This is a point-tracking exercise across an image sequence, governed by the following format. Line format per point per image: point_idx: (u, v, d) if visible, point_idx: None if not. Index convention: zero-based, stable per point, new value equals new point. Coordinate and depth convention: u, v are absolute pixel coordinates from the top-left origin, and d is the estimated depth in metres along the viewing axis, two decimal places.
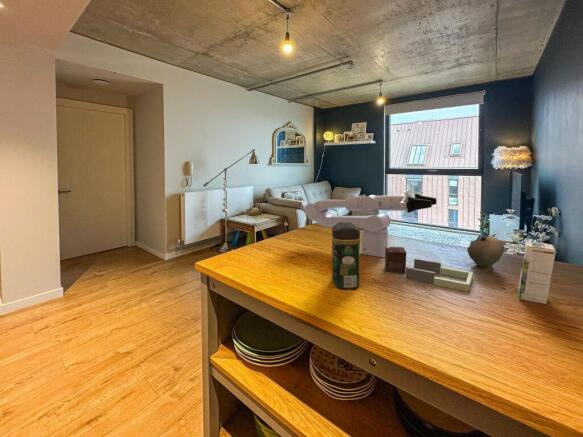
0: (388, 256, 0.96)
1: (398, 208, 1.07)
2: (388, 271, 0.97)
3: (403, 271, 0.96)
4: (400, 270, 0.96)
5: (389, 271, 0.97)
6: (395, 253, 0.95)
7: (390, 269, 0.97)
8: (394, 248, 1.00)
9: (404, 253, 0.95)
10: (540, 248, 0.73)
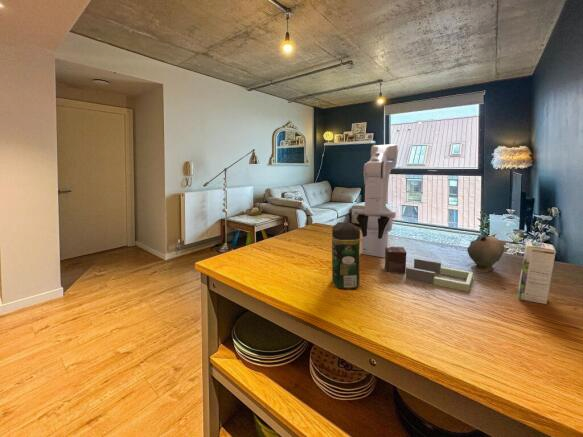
0: (388, 256, 0.96)
1: None
2: (388, 271, 0.97)
3: (403, 271, 0.96)
4: (400, 270, 0.96)
5: (389, 271, 0.97)
6: (395, 253, 0.95)
7: (390, 269, 0.97)
8: (394, 248, 1.00)
9: (404, 253, 0.95)
10: (540, 248, 0.73)
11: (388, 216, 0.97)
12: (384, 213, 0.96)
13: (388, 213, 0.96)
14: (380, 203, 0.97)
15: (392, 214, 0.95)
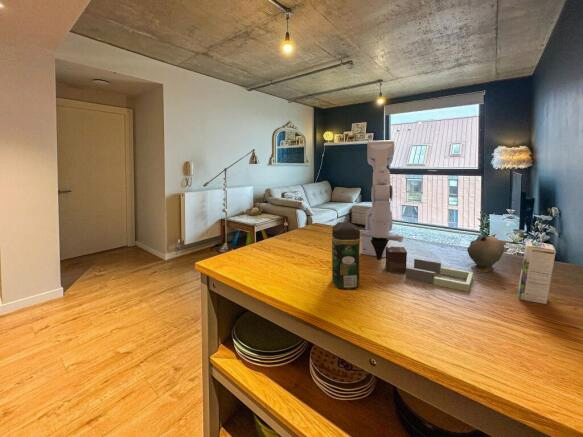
0: (388, 256, 0.96)
1: None
2: (388, 271, 0.97)
3: (404, 271, 0.96)
4: (400, 270, 0.96)
5: (389, 271, 0.97)
6: (395, 253, 0.95)
7: (391, 269, 0.97)
8: (395, 247, 1.00)
9: (404, 253, 0.95)
10: (540, 248, 0.73)
11: (395, 239, 0.97)
12: (391, 236, 0.96)
13: (395, 236, 0.96)
14: (387, 226, 0.98)
15: (399, 238, 0.96)
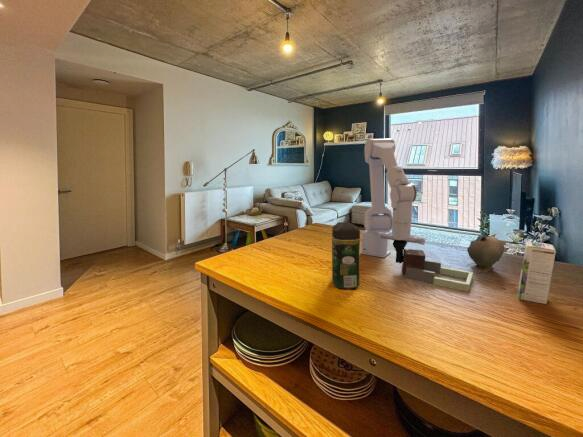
0: (405, 258, 0.93)
1: None
2: (405, 274, 0.94)
3: None
4: None
5: None
6: (413, 256, 0.92)
7: None
8: (413, 250, 0.96)
9: (423, 256, 0.91)
10: (540, 248, 0.73)
11: (417, 242, 0.93)
12: (413, 239, 0.93)
13: (417, 239, 0.92)
14: (409, 228, 0.94)
15: (422, 240, 0.92)
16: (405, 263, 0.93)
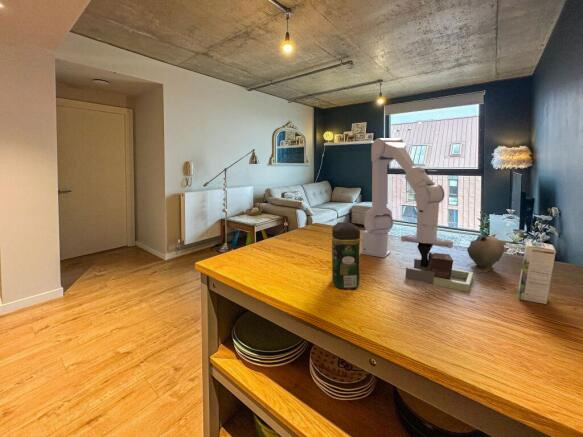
0: (431, 262, 0.88)
1: None
2: None
3: None
4: None
5: None
6: (440, 260, 0.87)
7: None
8: (439, 254, 0.91)
9: (450, 261, 0.87)
10: (540, 248, 0.73)
11: (444, 245, 0.89)
12: (440, 242, 0.88)
13: (445, 242, 0.88)
14: (435, 231, 0.89)
15: (450, 243, 0.87)
16: (431, 267, 0.89)
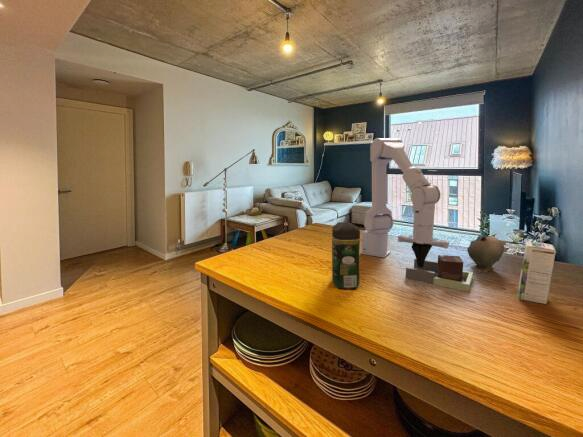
0: (441, 265, 0.87)
1: None
2: None
3: None
4: None
5: None
6: (450, 263, 0.86)
7: None
8: (449, 256, 0.90)
9: (461, 263, 0.85)
10: (540, 248, 0.73)
11: (440, 245, 0.90)
12: (436, 242, 0.89)
13: (441, 242, 0.88)
14: (431, 231, 0.90)
15: (445, 244, 0.88)
16: (441, 270, 0.87)
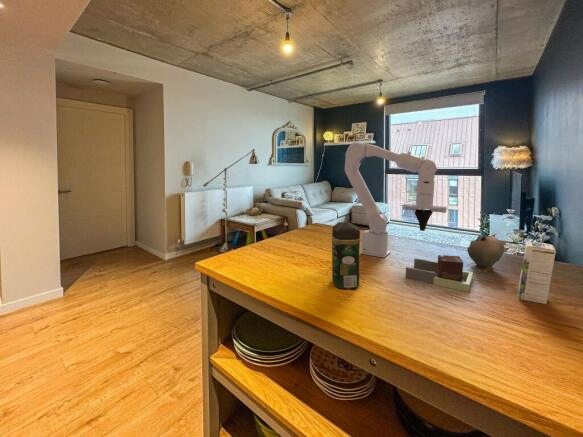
0: (441, 265, 0.87)
1: None
2: None
3: None
4: None
5: None
6: (450, 263, 0.86)
7: None
8: (448, 256, 0.90)
9: (461, 263, 0.85)
10: (540, 248, 0.73)
11: (439, 210, 1.05)
12: (436, 208, 1.04)
13: (440, 208, 1.04)
14: (432, 198, 1.05)
15: (444, 209, 1.03)
16: (441, 270, 0.87)
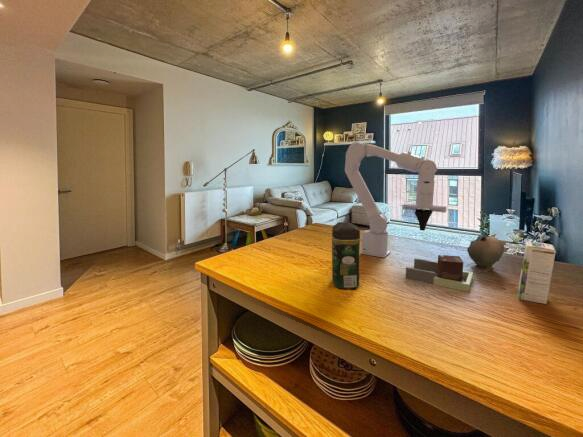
0: (441, 265, 0.87)
1: None
2: None
3: None
4: None
5: None
6: (450, 263, 0.86)
7: None
8: (449, 256, 0.90)
9: (461, 263, 0.85)
10: (540, 248, 0.73)
11: (439, 210, 1.05)
12: (436, 207, 1.05)
13: (440, 207, 1.04)
14: (432, 198, 1.06)
15: (444, 208, 1.04)
16: (441, 270, 0.87)
